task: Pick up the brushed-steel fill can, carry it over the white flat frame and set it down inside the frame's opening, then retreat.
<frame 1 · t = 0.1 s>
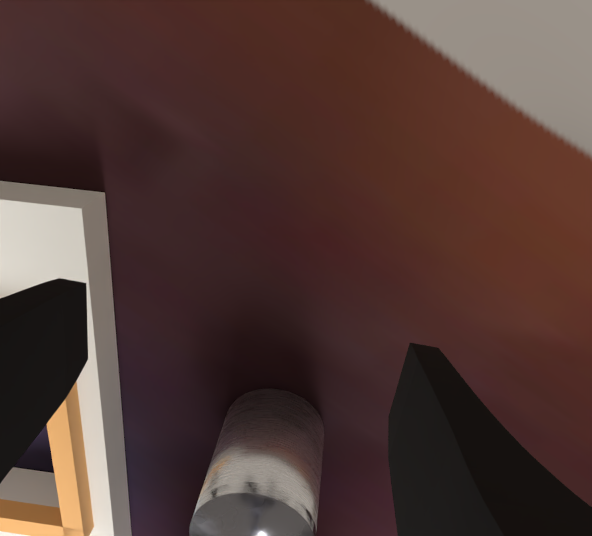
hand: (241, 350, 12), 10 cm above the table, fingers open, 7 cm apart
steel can: (274, 429, 26), on the table
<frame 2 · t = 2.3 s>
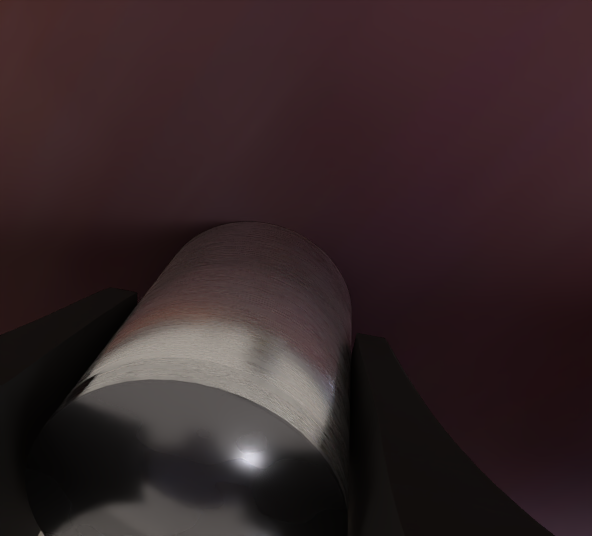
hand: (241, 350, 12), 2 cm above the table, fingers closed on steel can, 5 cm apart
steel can: (255, 312, 13), on the table, touching gripper
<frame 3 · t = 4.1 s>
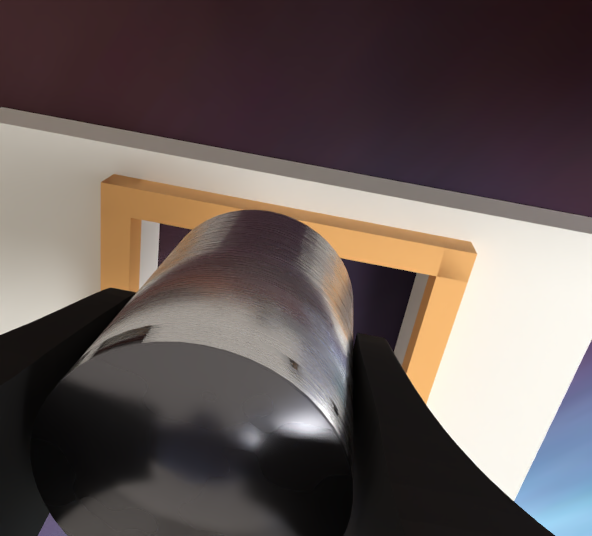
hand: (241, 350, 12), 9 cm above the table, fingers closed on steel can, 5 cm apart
white flat frame: (272, 338, 22), on the table
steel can: (257, 301, 13), point 7 cm above the table, touching gripper
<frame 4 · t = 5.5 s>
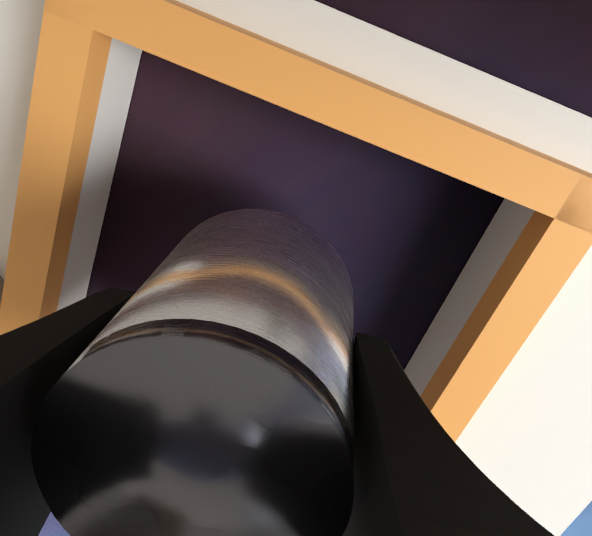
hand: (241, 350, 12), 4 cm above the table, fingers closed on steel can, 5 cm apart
white flat frame: (264, 284, 16), on the table
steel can: (257, 301, 13), point 2 cm above the table, touching gripper
when the fingers open (4 cm above the table, at t = 6.2 s): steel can drops 2 cm, resting in white flat frame.
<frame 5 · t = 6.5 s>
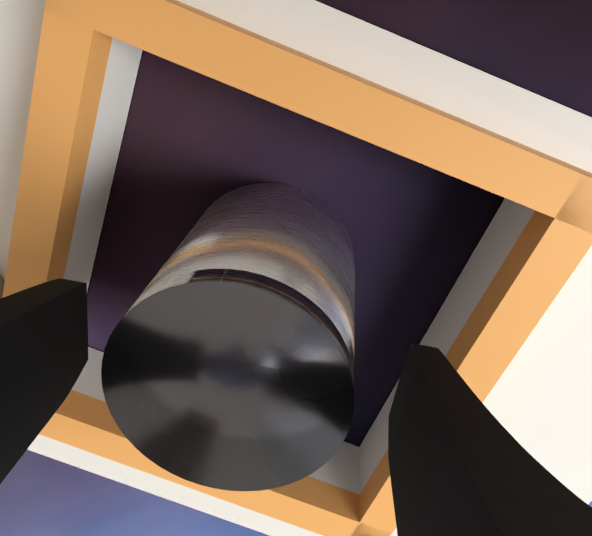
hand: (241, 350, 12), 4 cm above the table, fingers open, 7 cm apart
white flat frame: (264, 284, 16), on the table
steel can: (271, 263, 16), resting in white flat frame
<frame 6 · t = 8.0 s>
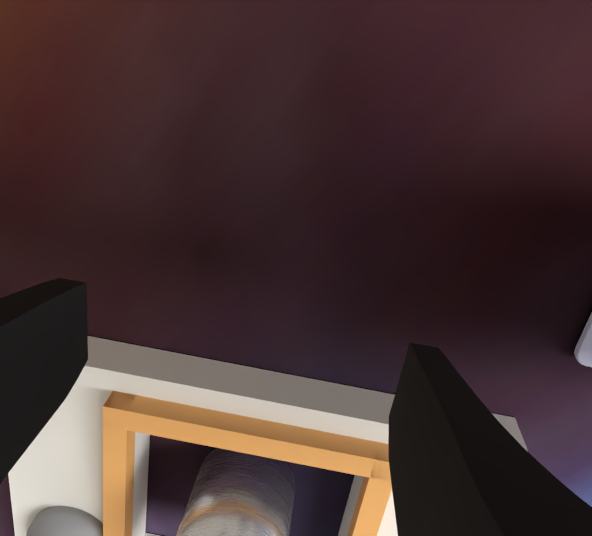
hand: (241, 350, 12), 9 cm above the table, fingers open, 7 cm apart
white flat frame: (245, 491, 27), on the table
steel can: (247, 480, 26), resting in white flat frame
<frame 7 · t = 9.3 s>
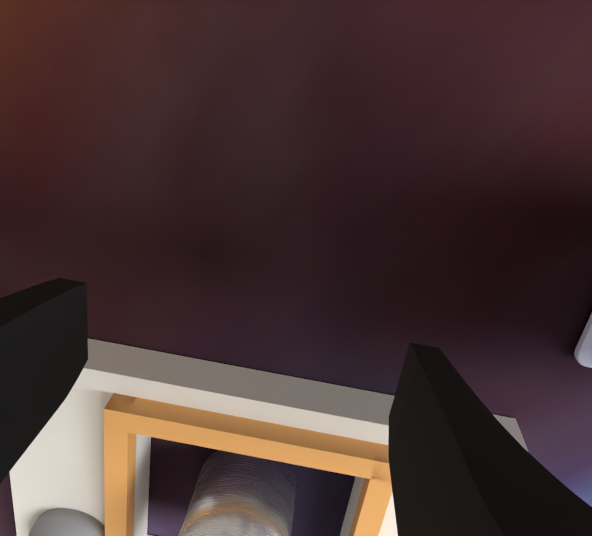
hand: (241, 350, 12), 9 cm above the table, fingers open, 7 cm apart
white flat frame: (247, 492, 27), on the table
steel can: (248, 481, 26), resting in white flat frame
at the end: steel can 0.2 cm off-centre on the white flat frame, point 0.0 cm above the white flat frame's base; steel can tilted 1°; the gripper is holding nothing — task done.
